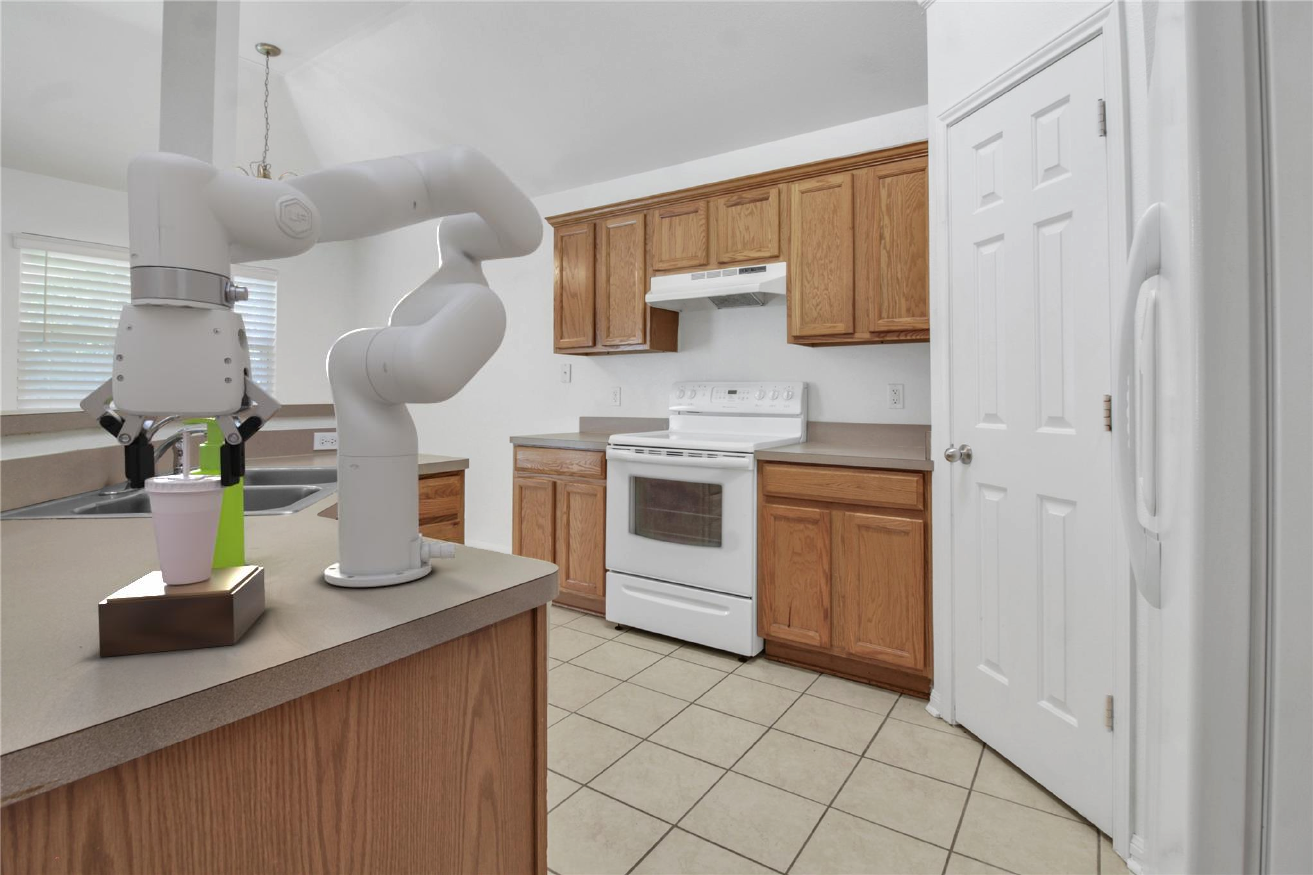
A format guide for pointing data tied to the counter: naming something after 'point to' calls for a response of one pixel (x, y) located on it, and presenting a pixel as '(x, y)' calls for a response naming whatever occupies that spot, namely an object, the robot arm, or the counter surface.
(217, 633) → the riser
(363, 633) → the counter surface
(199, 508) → the smoothie
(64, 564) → the counter surface
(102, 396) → the robot arm
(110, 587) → the counter surface
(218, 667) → the counter surface
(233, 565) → the soap dispenser
